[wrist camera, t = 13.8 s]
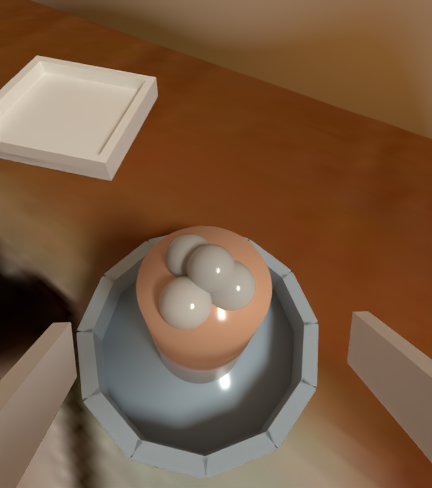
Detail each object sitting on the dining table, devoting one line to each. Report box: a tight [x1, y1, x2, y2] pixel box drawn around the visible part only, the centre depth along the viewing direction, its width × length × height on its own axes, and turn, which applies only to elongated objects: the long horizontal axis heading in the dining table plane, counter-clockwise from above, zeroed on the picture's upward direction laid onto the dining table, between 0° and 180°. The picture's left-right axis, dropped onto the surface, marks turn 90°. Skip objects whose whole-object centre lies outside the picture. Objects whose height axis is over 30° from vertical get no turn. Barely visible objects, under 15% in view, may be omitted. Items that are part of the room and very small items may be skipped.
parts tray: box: [0, 56, 158, 181], centre depth 35 cm, size 16×16×2 cm
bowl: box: [77, 235, 318, 479], centre depth 22 cm, size 16×16×4 cm
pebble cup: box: [136, 226, 272, 384], centre depth 18 cm, size 6×6×12 cm
